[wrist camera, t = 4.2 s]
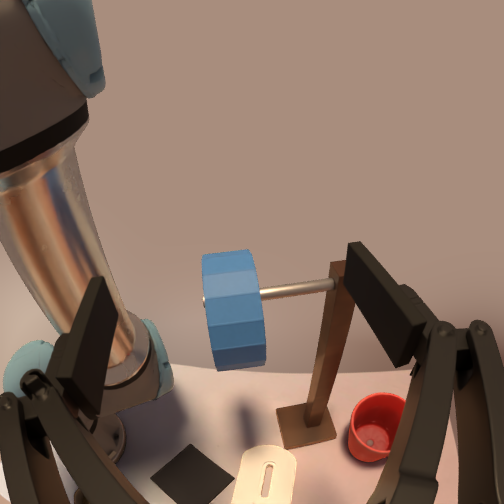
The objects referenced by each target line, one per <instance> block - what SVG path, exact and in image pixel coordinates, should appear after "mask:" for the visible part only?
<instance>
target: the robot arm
mask: <svg viewBox="0 0 504 504" xmlns="http://www.w3.org/2000/svg"><path fill="white" fill-rule="evenodd" d="M104 88H105V76H104V71H103V66H102V59H101V50H100V45H99V39H98V33H97V28H96V22H95V17H94V11H93V5H92V0H0V241H1V243H2V245H3V247H4V249H5V251H6V252H7V254H8V256H9V258H10V260H11V262H12V263H13V265H14V267H15V269H16V270H17V272H18V274H19V275H20V277H21V279H22V280H23V282H24V284H25V285H26V287H27V288H28V290H29V292H30V293H31V294H32V296H33V298H34V299H35V301H36V302H37V304H38V305H39V307H40V308H41V310H42V311H43V313H44V314H45V315H46V317H47V318H48V320H49V321H50V323H51V324H52V325H53V327H54V328H55V329H56V331H57V332H58V333H59V335H60V337H59V338H58V339H57V341H56V343H55V346H53V345H51V344H50V343H48V342H44V341H43V340H36V341H32V342H29V343H27V344H26V345H24V346H22V347H21V348H20V349H19V350H18V351H17V352H16V353H15V354H14V355H13V357H12V358H11V360H10V361H9V363H8V365H7V367H6V369H5V373H4V377H3V389H4V393H3V394H1V395H0V453H1V460H2V465H3V471H4V476H5V480H6V485H7V489H8V493H9V497H10V501H11V504H70V502H69V499H68V497H67V494H66V491H65V489H64V486H63V483H62V480H61V477H60V474H59V471H58V468H57V465H56V462H55V458H54V455H53V451H52V448H51V444H50V441H51V443H52V445H53V447H54V448H55V450H56V452H57V454H58V455H59V457H60V459H61V460H62V462H63V464H64V465H65V467H66V469H67V470H68V472H69V473H70V475H71V477H72V478H73V480H74V481H75V483H76V484H77V486H78V487H79V489H80V490H81V491H82V493H83V494H84V496H85V497H86V499H87V500H88V501H89V503H90V504H149V503H148V502H147V501H146V500H145V499H144V497H143V496H142V495H141V494H140V493H139V492H138V491H137V490H136V489H135V488H134V487H133V485H132V484H131V483H130V482H129V481H128V480H127V479H126V477H125V476H124V475H123V474H122V473H121V472H120V470H119V469H118V468H117V467H116V465H115V464H116V463H117V462H118V460H119V459H120V458H121V456H122V454H123V452H124V449H125V445H126V432H125V428H124V426H123V424H122V422H121V420H120V419H119V418H118V416H117V415H116V414H115V413H116V412H119V411H122V410H125V409H128V408H131V407H133V406H136V405H139V404H142V403H144V402H147V401H150V400H156V399H158V398H159V397H160V396H162V395H164V394H166V393H168V392H170V391H171V390H172V388H173V385H174V378H173V373H172V369H171V366H170V363H169V362H168V356H167V353H166V350H165V347H164V345H163V342H162V339H161V337H160V335H159V333H158V330H157V328H156V326H155V325H154V323H153V322H152V321H151V320H148V319H144V320H142V319H139V318H138V317H137V316H136V315H135V314H133V313H131V312H129V311H127V310H126V309H125V307H124V304H123V302H122V299H121V297H120V294H119V292H118V289H117V287H116V284H115V282H114V279H113V276H112V274H111V271H110V268H109V265H108V263H107V260H106V257H105V254H104V251H103V248H102V245H101V242H100V239H99V236H98V233H97V230H96V227H95V224H94V221H93V217H92V214H91V211H90V207H89V204H88V200H87V197H86V193H85V189H84V185H83V182H82V178H81V174H80V170H79V166H78V161H77V157H76V153H75V148H74V146H75V143H76V141H77V140H78V138H79V137H80V135H81V134H82V132H83V131H84V129H85V128H86V126H87V124H88V123H89V114H88V107H87V100H86V98H93V97H95V96H96V95H97V94H98V93H100V92H102V91H103V90H104ZM343 285H344V286H345V288H346V289H347V291H348V292H349V294H350V295H351V297H352V298H353V300H354V302H355V303H356V305H357V306H358V308H359V309H360V311H361V312H362V314H363V316H364V317H365V319H366V320H367V322H368V324H369V325H370V327H371V329H372V330H373V332H374V333H375V335H376V336H377V338H378V340H379V341H380V343H381V345H382V346H383V348H384V350H385V351H386V353H387V355H388V356H389V358H390V360H391V361H392V363H393V365H394V367H395V368H398V367H401V366H403V365H406V364H409V362H410V360H411V358H412V356H414V357H415V359H416V363H415V365H414V367H413V369H412V371H411V373H410V376H412V379H411V383H410V387H409V391H408V395H407V398H406V402H405V406H404V409H403V413H402V416H401V420H400V423H399V426H398V429H397V432H396V435H395V438H394V441H393V444H392V447H391V450H390V453H389V456H388V458H387V461H386V464H385V466H384V469H383V472H382V474H381V477H380V479H379V481H378V484H377V486H376V488H375V491H374V492H373V494H372V495H371V497H370V498H369V500H368V502H367V503H366V504H434V500H435V497H436V494H437V491H438V481H437V480H436V473H437V469H438V465H439V461H440V458H441V453H442V449H443V445H444V440H445V435H446V430H447V425H448V420H449V414H450V407H451V401H452V394H453V390H454V398H455V407H456V418H457V430H458V431H457V432H458V456H459V483H458V504H504V367H503V364H502V360H501V357H500V353H499V350H498V347H497V343H496V340H495V338H494V334H493V331H492V329H491V327H490V326H489V325H488V324H487V323H485V322H484V321H481V320H474V321H472V322H471V324H470V326H469V328H465V329H456V328H455V327H454V326H453V325H452V324H451V323H448V322H445V321H439V320H438V319H437V317H436V316H435V315H434V314H433V312H432V311H431V310H430V309H429V308H428V307H427V305H426V304H425V303H423V300H422V299H421V298H420V297H419V296H418V295H417V293H416V292H415V291H414V290H413V289H412V288H410V287H409V286H407V285H405V284H403V285H398V284H397V283H396V282H395V280H394V279H393V278H392V277H391V276H390V275H389V273H388V272H387V271H386V270H385V269H384V268H383V266H382V265H381V264H380V263H379V262H378V261H377V260H376V258H375V257H374V256H373V255H372V254H371V253H370V252H369V250H368V249H367V248H366V247H365V246H364V245H363V244H362V243H361V242H360V241H359V242H352V243H348V249H347V257H346V264H345V272H344V279H343Z"/></svg>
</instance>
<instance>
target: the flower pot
mask: <svg viewBox="0 0 504 504" xmlns="http://www.w3.org/2000/svg"><path fill="white" fill-rule="evenodd" d="M405 402H406V400H404V399H403V398H401V397H399V396H397V395H395V394H391V393H375V394H371V395H369V396H367V397H365V398H363V399H362V400H361V401H360V402H359V403H358V404H357V405H356V406H355V408H354V410H353V412H352V415H351V420H350V427H349V438H348V447H349V450H350V452H351V454H352V455H353V456H354V457H355V458H357V459H358V460H361V461H364V462H373V461H377V460H380V459H382V458H385V457H387V456H389V453H390V450H391V447H392V444H393V441H394V438H395V435H396V432H397V429H398V426H399V423H400V420H401V416H402V413H403V409H404V406H405Z"/></svg>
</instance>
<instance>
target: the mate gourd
mask: <svg viewBox="0 0 504 504" xmlns="http://www.w3.org/2000/svg"><path fill="white" fill-rule="evenodd" d="M74 504H90V503H89V501H88V500H87V499H86V497H85V496H84V494H83V493H82V491H81V490H80V489H79V488H78V489H77V490H76V492H75V494H74Z"/></svg>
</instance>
